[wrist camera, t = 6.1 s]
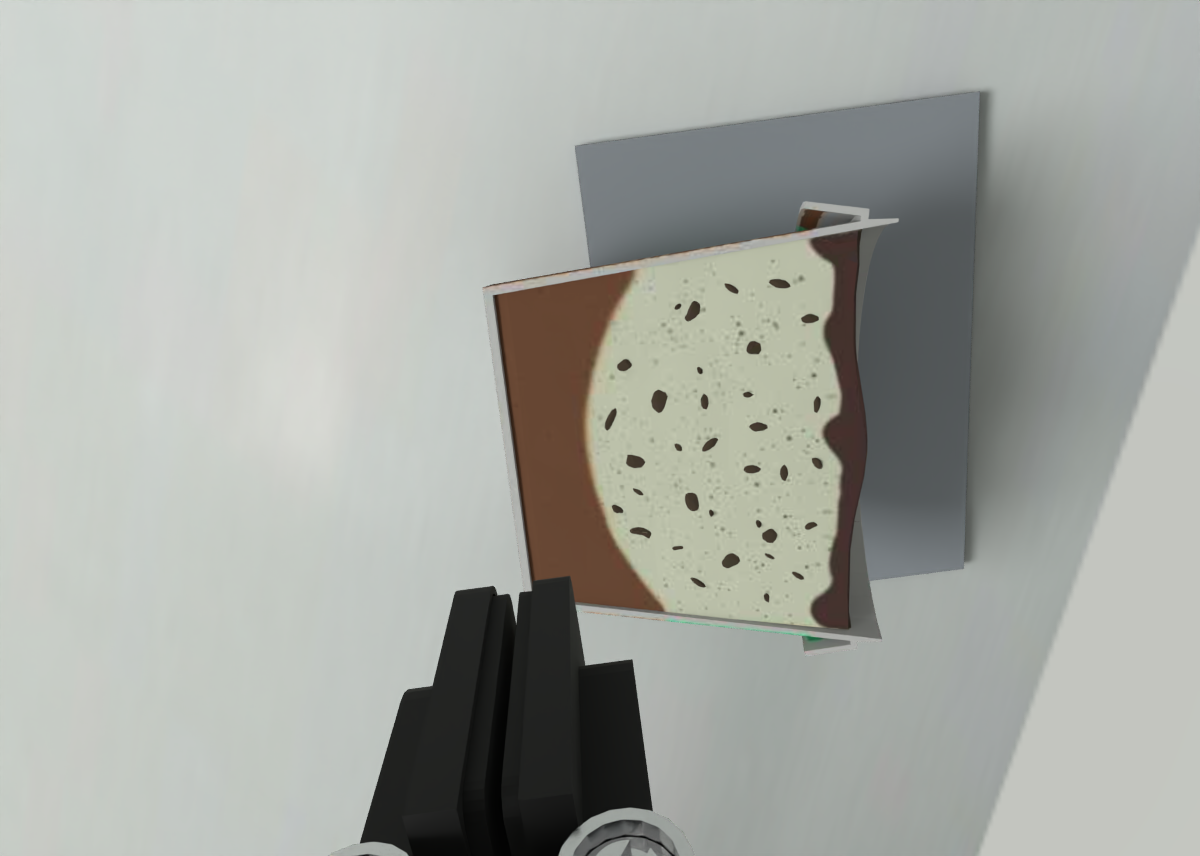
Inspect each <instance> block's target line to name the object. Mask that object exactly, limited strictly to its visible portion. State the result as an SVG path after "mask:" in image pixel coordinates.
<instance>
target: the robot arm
mask: <svg viewBox="0 0 1200 856" xmlns="http://www.w3.org/2000/svg"><path fill="white" fill-rule="evenodd" d="M328 856H695V854H694V851H693V848H692V846H691V845H690V843H689V841H688V839H687V838H686V836H685V834H684V832H683V831H682V830H681V829H680V828H679V827H677V826H676V825H675V824H674V823H673V822H672V821H671V820H669V819H668V818H666V817H664V816H662V815H659V814H657V813H655V812H653V809H652V802H651V794H650V787H649V780H648V772H647V765H646V757H645V750H644V742H643V735H642V728H641V720H640V713H639V705H638V698H637V690H636V683H635V675H634V668H633V661H632V660H624V661H617V662H609V663H602V664H594V665H587V666H585V661H584V655H583V648H582V642H581V636H580V630H579V624H578V617H577V611H576V605H575V599H574V592H573V587H572V581H571V577H570V576H564V577H557V578H549V579H542V580H534V581H533V585H532V591H527V592H520V594H519V603H518V613H517V624H516V621H515V616H514V611H513V605H512V601H511V597H510V595H509V594H505V595H497V592H496V589H495V587H494V586H490V587H482V588H475V589H467V590H460V591H456V592H455V595H454V598H453V603H452V607H451V611H450V615H449V619H448V624H447V628H446V632H445V636H444V640H443V645H442V649H441V653H440V657H439V661H438V666H437V670H436V674H435V678H434V682H433V686H430V687H422V688H415V689H408V690H407V691H406V692H405V693H404V695H403V697H402V699H401V702H400V706H399V709H398V713H397V716H396V720H395V723H394V727H393V730H392V734H391V737H390V740H389V744H388V747H387V751H386V754H385V758H384V761H383V765H382V768H381V772H380V775H379V779H378V782H377V786H376V789H375V792H374V796H373V799H372V803H371V806H370V810H369V813H368V817H367V820H366V824H365V827H364V831H363V834H362V838H361V841H360V844H354V845H351V846H348V847H346V848H343V849H341V850H338V851H336V852H333V853H331V854H330V855H328Z"/></svg>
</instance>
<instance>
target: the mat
mask: <svg viewBox="0 0 1200 856" xmlns="http://www.w3.org/2000/svg"><path fill="white" fill-rule="evenodd" d="M979 101H980V91H979V92H972V93H964V94H957V95H949V96H942V97H934V98H927V99H920V100H912V101H905V102H897V103H890V104H882V105H875V106H868V107H860V108H853V109H845V110H838V111H831V112H823V113H816V114H808V115H801V116H793V117H786V118H779V119H771V120H764V121H756V122H749V123H741V124H734V125H727V126H719V127H712V128H704V129H697V130H689V131H682V132H675V133H667V134H660V135H652V136H645V137H638V138H630V139H623V140H615V141H608V142H600V143H593V144H586V145H578V146H575V150H576V158H577V166H578V174H579V181H580V189H581V197H582V205H583V212H584V220H585V228H586V235H587V243H588V251H589V259H590V266H591V267H596V266H602V265H608V264H613V263H619V262H625V261H631V260H636V259H642V258H648V257H654V256H659V255H665V254H671V253H677V252H682V251H688V250H694V249H699V248H705V247H711V246H717V245H722V244H728V243H734V242H740V241H745V240H751V239H757V238H763V237H768V236H774V235H780V234H786V233H791V232H795V229H796V224H797V219H798V215H799V210H800V207H801V205H802V203H803V202H805V201H808V202H816V203H824V204H833V205H841V206H850V207H858V208H867V209H869V218H868V219H892V218H899V222H896V223H891V224H889V225H887V226H886V227H885V228H884V229H883V231H882V233H881V234H880V236H879V238H878V240H877V243H876V245H875V248H874V251H873V254H872V258H871V261H870V265H869V270H868V275H867V280H866V286H865V292H864V299H863V306H862V315H861V325H860V335H859V350H858V368H859V375H860V381H861V388H862V394H863V400H864V407H865V413H866V425H867V439H868V442H867V459H866V467H865V475H864V480H863V484H862V489H861V493H860V508H861V520H862V530H863V539H864V548H865V556H866V563H867V570H868V577H869V581H872V580H880V579H888V578H895V577H903V576H911V575H919V574H927V573H934V572H942V571H950V570H958V569H964V548H965V518H966V488H967V458H968V429H969V399H970V369H971V339H972V310H973V280H974V250H975V220H976V191H977V161H978V131H979Z"/></svg>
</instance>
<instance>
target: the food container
mask: <svg viewBox="0 0 1200 856" xmlns="http://www.w3.org/2000/svg"><path fill="white" fill-rule="evenodd" d="M868 218H869V209H867V208H858V207H850V206H841V205H833V204H824V203H816V202H808V201H805V202H803V203H802V205H801V207H800V210H799V215H798V219H797V224H796V229H795V232H791V233H786V234H780V235H774V236H768V237H763V238H757V239H751V240H745V241H740V242H734V243H728V244H722V245H717V246H711V247H705V248H699V249H694V250H688V251H682V252H677V253H671V254H665V255H659V256H654V257H648V258H642V259H636V260H631V261H625V262H619V263H613V264H608V265H602V266H596V267H590V268H585V269H579V270H573V271H567V272H562V273H556V274H550V275H544V276H539V277H533V278H527V279H522V280H516V281H510V282H504V283H499V284H493V285H489V286H486V287H483V295H484V302H485V309H486V317H487V324H488V331H489V339H490V346H491V353H492V361H493V368H494V375H495V383H496V390H497V397H498V405H499V412H500V420H501V427H502V434H503V442H504V449H505V456H506V464H507V471H508V478H509V486H510V493H511V500H512V508H513V515H514V522H515V530H516V537H517V544H518V552H519V559H520V566H521V574H522V581H523V588H524V592H527V591H532V585H533V581H534V580H542V579H549V578H557V577H564V576H570V577H571V581H572V587H573V592H574V599H575V605H576V611H578V612H587V613H596V614H606V615H615V616H624V617H634V618H643V619H652V620H662V621H671V622H680V623H689V624H699V625H708V626H717V627H727V628H736V629H745V630H755V631H764V632H773V633H783V634H792V635H801V636H802V638H803V646H804V653H805V655H806V656H811V655H818V654H825V653H833V652H840V651H847V650H854V649H857V642H882V637H881V634H880V630H879V627H878V623H877V619H876V614H875V609H874V605H873V600H872V594H871V588H870V583H869V577H868V570H867V563H866V556H865V548H864V539H863V530H862V520H861V508H860V493H861V489H862V484H863V480H864V475H865V467H866V459H867V442H868V439H867V425H866V413H865V407H864V400H863V394H862V388H861V381H860V375H859V368H858V350H859V335H860V325H861V315H862V306H863V299H864V292H865V286H866V280H867V275H868V270H869V265H870V261H871V258H872V254H873V251H874V248H875V245H876V243H877V240H878V238H879V236H880V234H881V233H882V231H883V229H884V228H885V227H886V226H887V225H889V224H891V223H896V222H899V218H892V219H868Z"/></svg>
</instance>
